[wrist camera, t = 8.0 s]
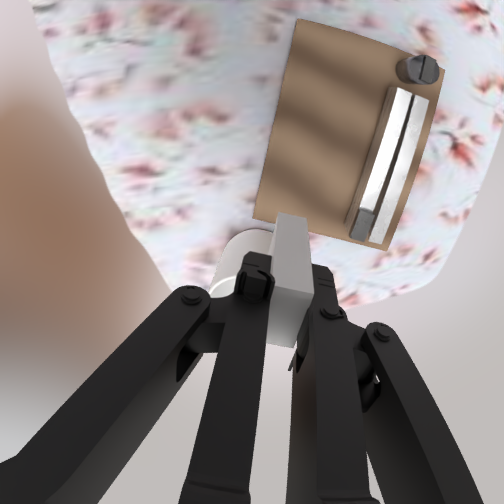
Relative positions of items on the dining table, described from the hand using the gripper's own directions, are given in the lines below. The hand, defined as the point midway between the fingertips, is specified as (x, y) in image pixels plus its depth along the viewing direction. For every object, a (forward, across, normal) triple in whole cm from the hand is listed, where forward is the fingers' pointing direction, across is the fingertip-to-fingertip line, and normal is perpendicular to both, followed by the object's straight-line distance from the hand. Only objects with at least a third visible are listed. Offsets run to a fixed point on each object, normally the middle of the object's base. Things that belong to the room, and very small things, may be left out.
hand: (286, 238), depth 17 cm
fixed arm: (+17, +10, +5) cm, 20 cm away
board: (+19, +6, +4) cm, 20 cm away
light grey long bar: (+17, +8, +3) cm, 19 cm away
